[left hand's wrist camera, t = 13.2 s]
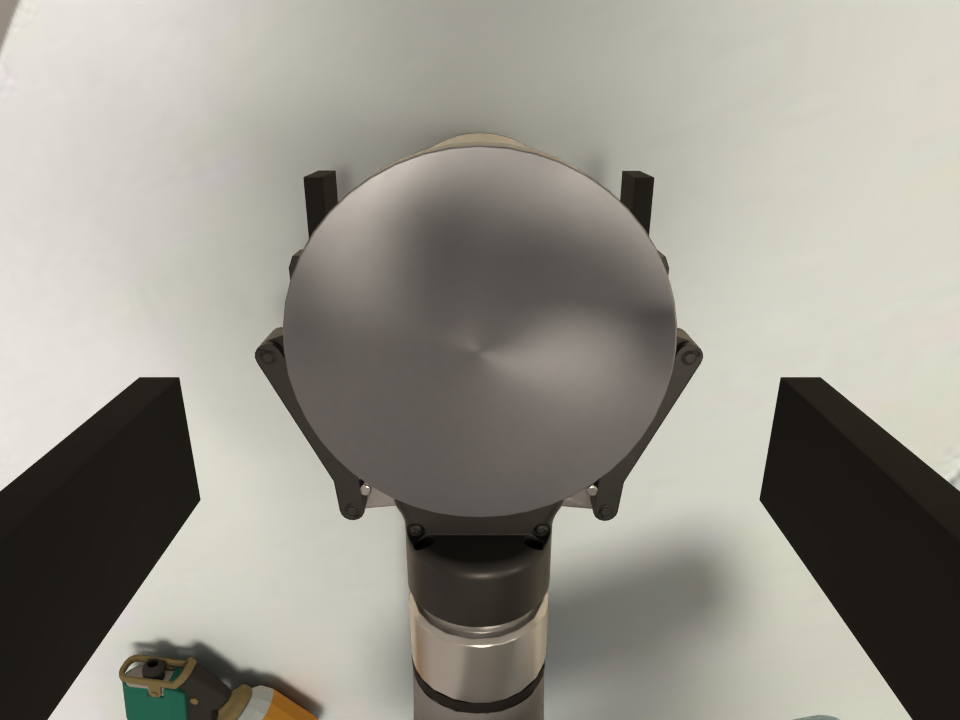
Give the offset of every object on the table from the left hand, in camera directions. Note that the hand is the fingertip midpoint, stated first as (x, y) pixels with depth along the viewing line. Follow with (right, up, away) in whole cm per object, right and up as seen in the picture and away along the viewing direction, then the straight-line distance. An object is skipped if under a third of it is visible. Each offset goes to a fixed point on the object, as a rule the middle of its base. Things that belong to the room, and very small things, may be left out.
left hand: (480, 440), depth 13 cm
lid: (0, +2, +5) cm, 5 cm away
